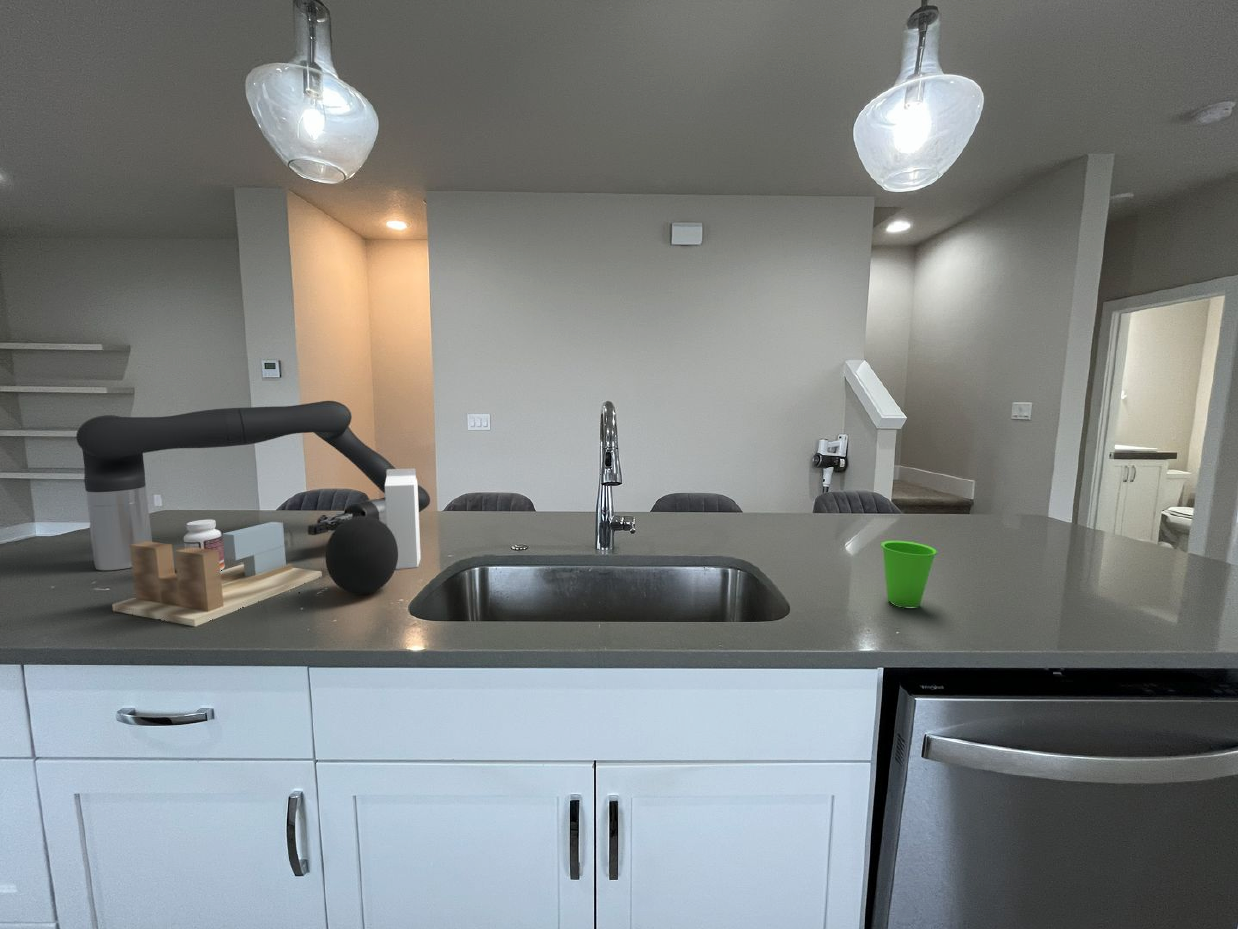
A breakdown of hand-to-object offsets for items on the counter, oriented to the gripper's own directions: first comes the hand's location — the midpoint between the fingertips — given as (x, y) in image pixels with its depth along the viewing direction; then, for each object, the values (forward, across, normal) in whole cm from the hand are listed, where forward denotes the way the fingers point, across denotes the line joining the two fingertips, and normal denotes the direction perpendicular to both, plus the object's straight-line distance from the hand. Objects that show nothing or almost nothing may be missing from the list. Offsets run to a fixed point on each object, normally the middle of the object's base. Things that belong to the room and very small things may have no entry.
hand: (310, 530), depth 110 cm
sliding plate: (+13, 0, +6) cm, 14 cm away
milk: (-5, +21, +8) cm, 23 cm away
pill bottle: (+12, -16, +8) cm, 21 cm away
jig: (+19, 0, +8) cm, 20 cm away
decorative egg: (+11, +25, +8) cm, 28 cm away
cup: (-15, +125, +7) cm, 126 cm away
